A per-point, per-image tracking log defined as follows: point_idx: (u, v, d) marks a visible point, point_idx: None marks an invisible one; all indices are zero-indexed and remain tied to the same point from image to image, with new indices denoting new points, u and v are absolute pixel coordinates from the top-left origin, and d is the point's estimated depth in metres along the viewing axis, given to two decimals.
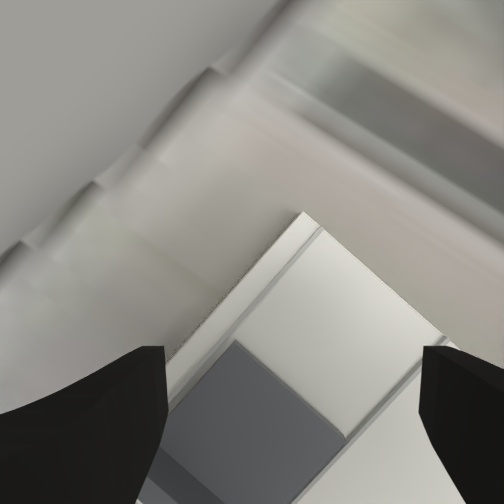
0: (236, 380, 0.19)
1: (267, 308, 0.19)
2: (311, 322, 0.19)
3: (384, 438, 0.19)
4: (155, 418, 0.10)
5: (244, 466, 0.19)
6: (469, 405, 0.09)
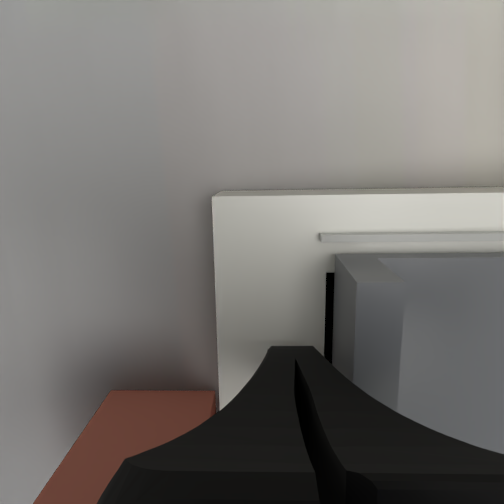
0: None
1: None
2: None
3: None
4: None
5: (440, 402, 0.11)
6: (302, 404, 0.09)
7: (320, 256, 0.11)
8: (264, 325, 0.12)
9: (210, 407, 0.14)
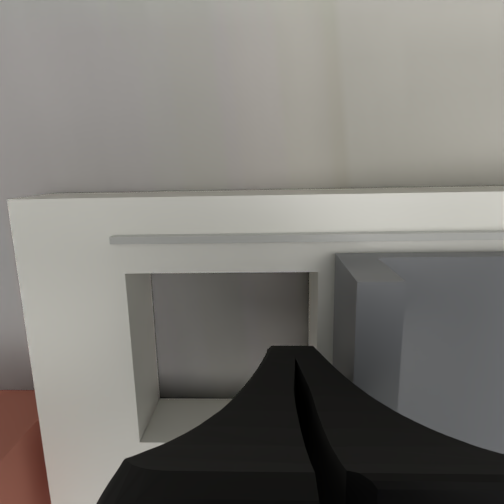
0: None
1: None
2: None
3: None
4: None
5: (441, 401, 0.11)
6: (302, 404, 0.09)
7: (117, 258, 0.12)
8: (71, 325, 0.12)
9: None
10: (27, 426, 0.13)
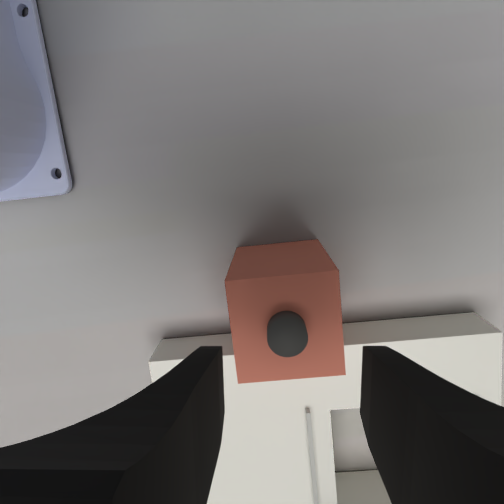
0: None
1: None
2: None
3: None
4: (218, 418, 0.10)
5: None
6: (392, 405, 0.09)
7: None
8: None
9: None
10: None
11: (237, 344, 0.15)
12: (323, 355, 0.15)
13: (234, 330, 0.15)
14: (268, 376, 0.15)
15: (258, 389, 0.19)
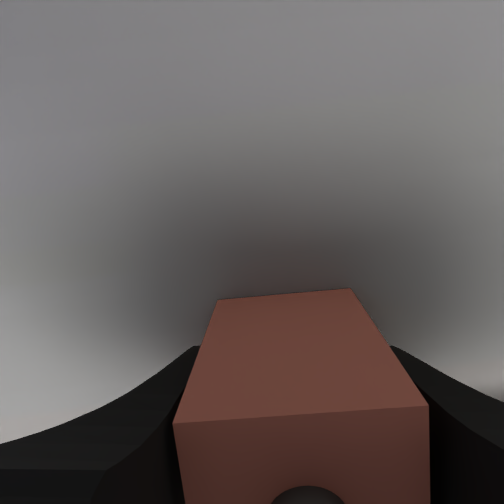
0: None
1: None
2: None
3: None
4: None
5: None
6: None
7: None
8: None
9: None
10: None
11: None
12: None
13: None
14: None
15: None
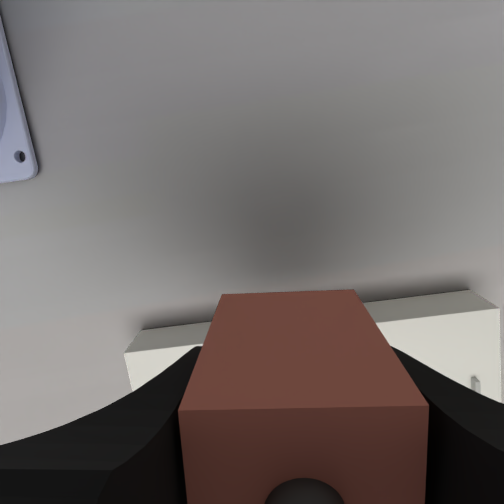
0: None
1: None
2: None
3: None
4: None
5: None
6: None
7: (459, 379, 0.17)
8: (407, 350, 0.17)
9: None
10: None
11: None
12: None
13: None
14: None
15: None
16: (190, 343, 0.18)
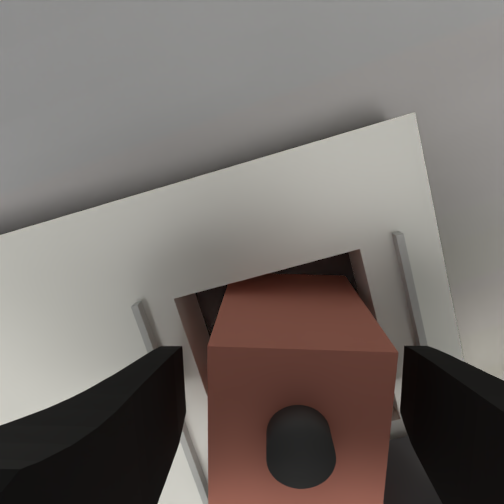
0: None
1: None
2: None
3: None
4: (174, 418, 0.10)
5: None
6: (445, 405, 0.09)
7: (375, 238, 0.11)
8: (288, 203, 0.11)
9: None
10: None
11: (215, 446, 0.09)
12: (351, 480, 0.09)
13: (213, 424, 0.09)
14: (258, 501, 0.09)
15: (56, 284, 0.12)
16: None
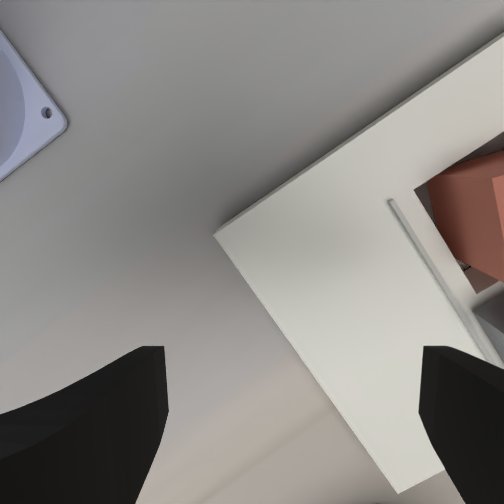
0: None
1: None
2: None
3: None
4: (155, 418, 0.10)
5: None
6: (469, 405, 0.09)
7: None
8: (478, 96, 0.16)
9: None
10: None
11: None
12: None
13: None
14: None
15: (331, 206, 0.18)
16: (268, 197, 0.18)
